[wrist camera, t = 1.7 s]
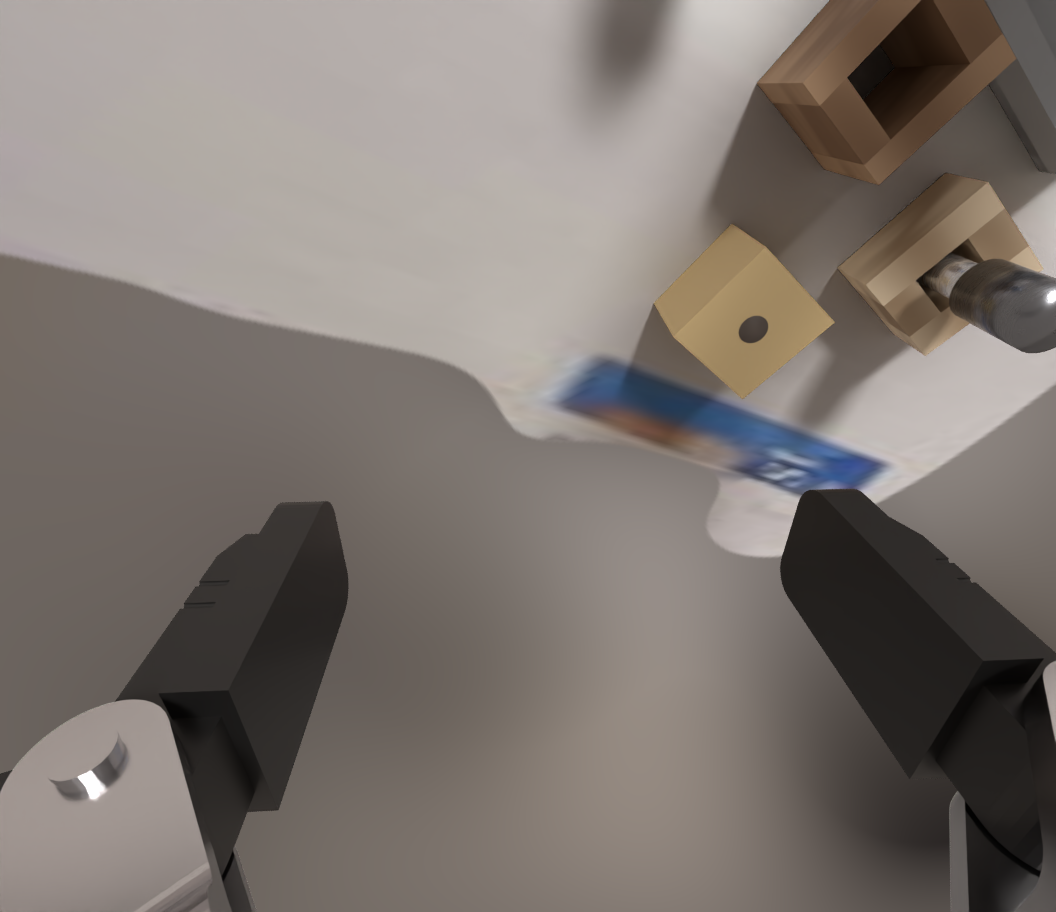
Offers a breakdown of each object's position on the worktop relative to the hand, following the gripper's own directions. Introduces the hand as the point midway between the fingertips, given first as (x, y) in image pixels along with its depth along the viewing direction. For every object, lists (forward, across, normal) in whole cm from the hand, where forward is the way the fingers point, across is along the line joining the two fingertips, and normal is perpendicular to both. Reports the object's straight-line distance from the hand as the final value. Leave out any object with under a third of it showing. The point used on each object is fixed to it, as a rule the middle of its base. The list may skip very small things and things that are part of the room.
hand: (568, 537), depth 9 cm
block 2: (+21, -15, -9) cm, 28 cm away
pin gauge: (+22, -22, -1) cm, 31 cm away
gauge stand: (+22, -22, -1) cm, 31 cm away
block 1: (+23, -12, +1) cm, 26 cm away
